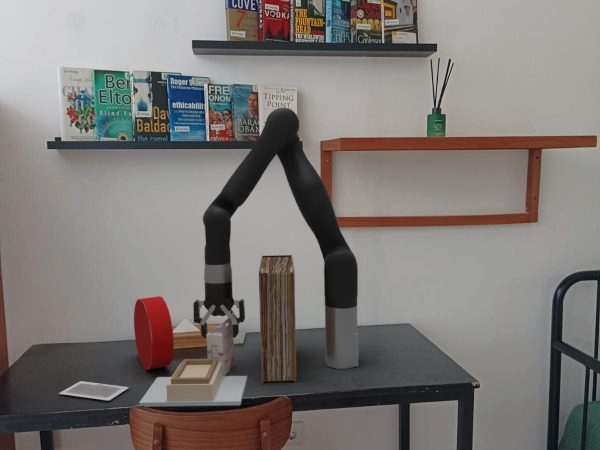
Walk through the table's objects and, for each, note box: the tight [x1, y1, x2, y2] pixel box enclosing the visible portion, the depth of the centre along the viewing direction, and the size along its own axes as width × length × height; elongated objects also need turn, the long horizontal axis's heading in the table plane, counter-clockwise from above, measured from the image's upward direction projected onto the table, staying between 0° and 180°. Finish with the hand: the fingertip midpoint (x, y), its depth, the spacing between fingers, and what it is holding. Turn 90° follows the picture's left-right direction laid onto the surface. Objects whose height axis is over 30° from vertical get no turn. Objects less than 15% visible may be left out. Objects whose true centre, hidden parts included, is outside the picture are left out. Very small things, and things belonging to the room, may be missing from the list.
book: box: [258, 254, 297, 385], centre depth 140 cm, size 25×9×30 cm, turn 2°
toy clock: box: [133, 295, 175, 371], centre depth 141 cm, size 20×6×20 cm, turn 32°
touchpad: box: [58, 380, 129, 402], centre depth 125 cm, size 8×15×2 cm, turn 73°
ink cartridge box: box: [206, 317, 235, 376], centre depth 138 cm, size 9×5×15 cm, turn 168°
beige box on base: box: [138, 358, 248, 408], centre depth 124 cm, size 24×15×6 cm, turn 90°
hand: (220, 337), depth 137 cm, fingers open, 7 cm apart
